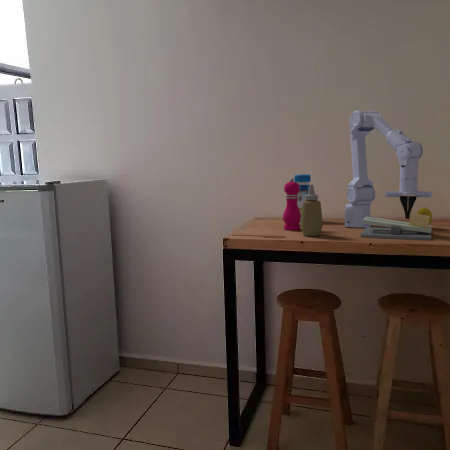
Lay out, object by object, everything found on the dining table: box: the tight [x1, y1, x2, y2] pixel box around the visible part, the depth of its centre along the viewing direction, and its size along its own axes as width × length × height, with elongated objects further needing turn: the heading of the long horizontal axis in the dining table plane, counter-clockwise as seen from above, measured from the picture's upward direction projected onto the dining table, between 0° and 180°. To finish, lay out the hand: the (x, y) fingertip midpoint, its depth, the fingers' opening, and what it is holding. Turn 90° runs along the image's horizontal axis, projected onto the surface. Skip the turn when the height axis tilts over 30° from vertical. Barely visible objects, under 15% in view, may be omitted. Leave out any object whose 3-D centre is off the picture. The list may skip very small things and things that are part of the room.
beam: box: [363, 216, 432, 234], centre depth 159 cm, size 22×9×2 cm, turn 67°
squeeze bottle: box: [299, 184, 324, 237], centre depth 162 cm, size 8×8×18 cm
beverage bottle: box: [293, 173, 312, 224], centre depth 196 cm, size 8×8×20 cm
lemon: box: [416, 206, 433, 226], centre depth 170 cm, size 6×6×8 cm
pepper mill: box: [282, 177, 301, 231], centre depth 176 cm, size 7×7×20 cm
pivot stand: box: [360, 226, 432, 241], centre depth 160 cm, size 22×16×4 cm
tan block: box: [408, 213, 430, 228], centre depth 157 cm, size 6×5×4 cm
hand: (407, 218), depth 158 cm, fingers closed
